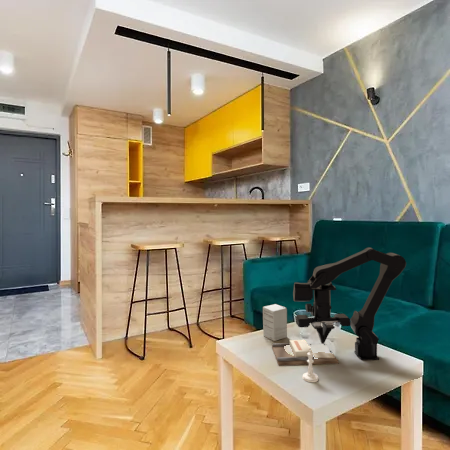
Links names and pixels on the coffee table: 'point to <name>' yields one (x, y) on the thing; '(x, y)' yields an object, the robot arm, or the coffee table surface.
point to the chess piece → (310, 370)
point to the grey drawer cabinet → (275, 322)
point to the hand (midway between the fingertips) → (322, 343)
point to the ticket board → (288, 359)
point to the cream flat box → (300, 348)
